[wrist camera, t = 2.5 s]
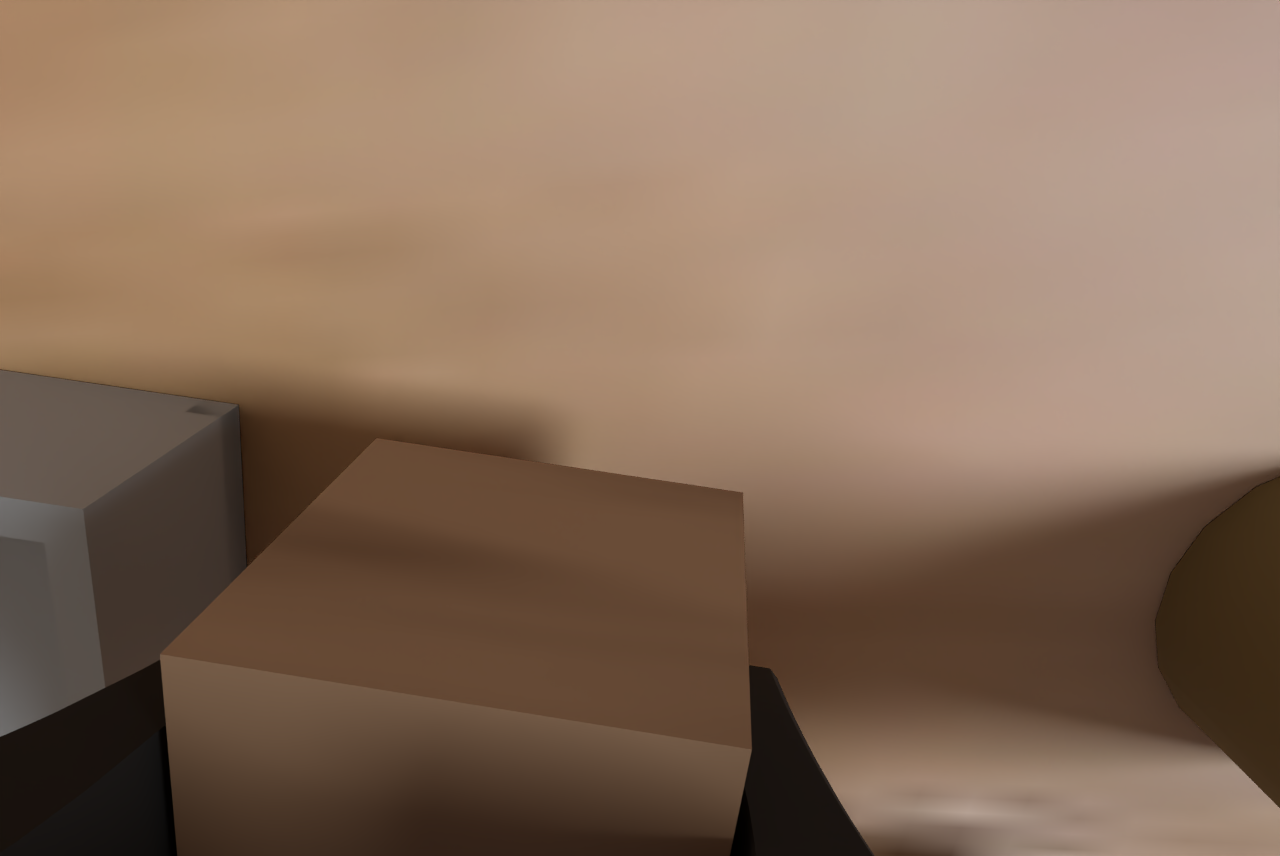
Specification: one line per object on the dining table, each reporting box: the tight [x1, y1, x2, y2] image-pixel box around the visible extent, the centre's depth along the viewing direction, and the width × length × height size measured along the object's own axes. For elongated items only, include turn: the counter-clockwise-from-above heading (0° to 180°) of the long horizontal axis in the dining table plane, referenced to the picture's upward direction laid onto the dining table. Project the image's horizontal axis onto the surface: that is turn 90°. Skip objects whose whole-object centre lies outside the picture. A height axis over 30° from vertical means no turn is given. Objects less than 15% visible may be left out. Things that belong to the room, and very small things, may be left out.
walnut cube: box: [160, 438, 752, 856], centre depth 11 cm, size 5×5×5 cm
